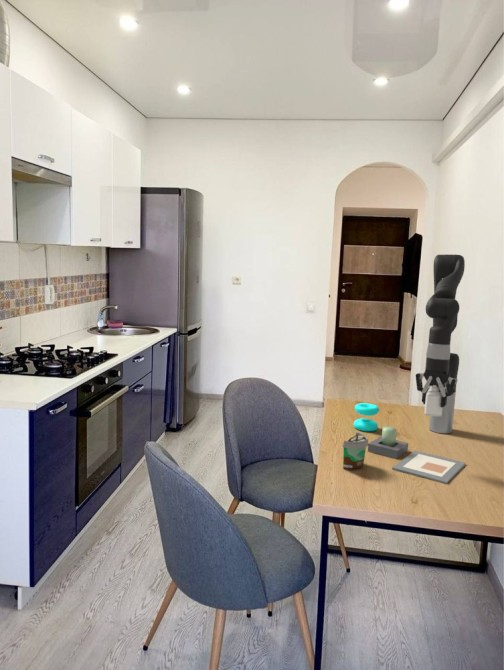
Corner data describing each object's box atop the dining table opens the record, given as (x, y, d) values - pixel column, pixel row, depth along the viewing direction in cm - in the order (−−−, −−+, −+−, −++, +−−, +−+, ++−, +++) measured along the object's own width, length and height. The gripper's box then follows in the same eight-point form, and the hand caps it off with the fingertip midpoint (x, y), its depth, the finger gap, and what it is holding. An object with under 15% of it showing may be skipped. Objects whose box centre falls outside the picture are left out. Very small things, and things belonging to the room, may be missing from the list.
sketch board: (414, 452, 194) (414, 450, 194) (465, 464, 184) (465, 462, 184) (392, 469, 177) (392, 467, 177) (446, 483, 166) (446, 481, 166)
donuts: (384, 407, 217) (364, 409, 213) (382, 431, 218) (362, 433, 214) (369, 401, 226) (350, 403, 222) (368, 424, 227) (348, 426, 223)
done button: (384, 441, 197) (385, 425, 197) (397, 444, 195) (398, 428, 194) (379, 444, 193) (380, 428, 193) (392, 447, 191) (393, 431, 190)
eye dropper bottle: (440, 417, 178) (443, 383, 177) (423, 415, 181) (426, 380, 180) (442, 415, 182) (445, 381, 181) (425, 412, 185) (428, 378, 183)
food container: (359, 474, 171) (361, 445, 170) (341, 470, 174) (343, 441, 173) (371, 463, 182) (373, 435, 180) (354, 459, 185) (356, 431, 183)
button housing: (379, 443, 202) (380, 436, 202) (407, 450, 196) (408, 443, 195) (367, 451, 193) (368, 443, 193) (396, 458, 187) (397, 450, 186)
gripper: (463, 358, 178) (458, 407, 180) (421, 353, 187) (417, 400, 188) (456, 360, 172) (451, 411, 174) (413, 355, 181) (409, 403, 182)
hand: (433, 405), depth 181 cm, fingers closed on eye dropper bottle, 5 cm apart
